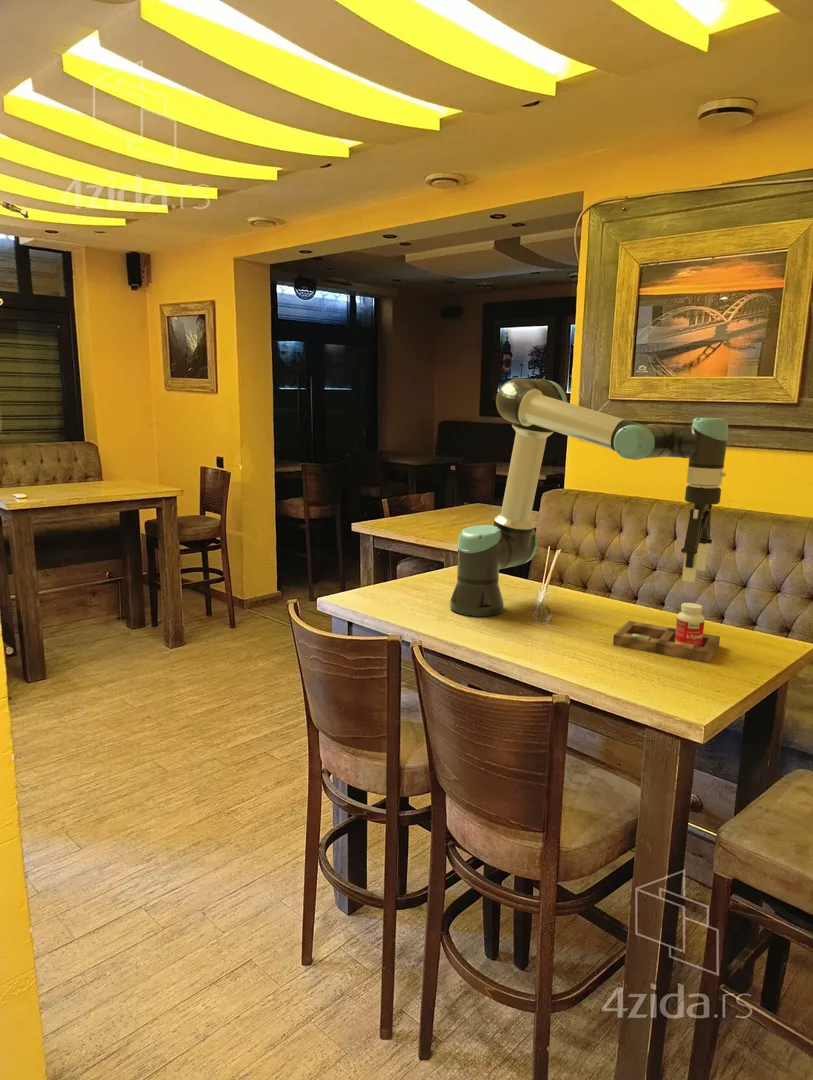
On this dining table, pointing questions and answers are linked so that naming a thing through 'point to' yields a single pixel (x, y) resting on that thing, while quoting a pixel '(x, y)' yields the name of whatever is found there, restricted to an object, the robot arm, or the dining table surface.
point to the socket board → (664, 641)
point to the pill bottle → (690, 624)
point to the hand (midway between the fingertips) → (693, 575)
